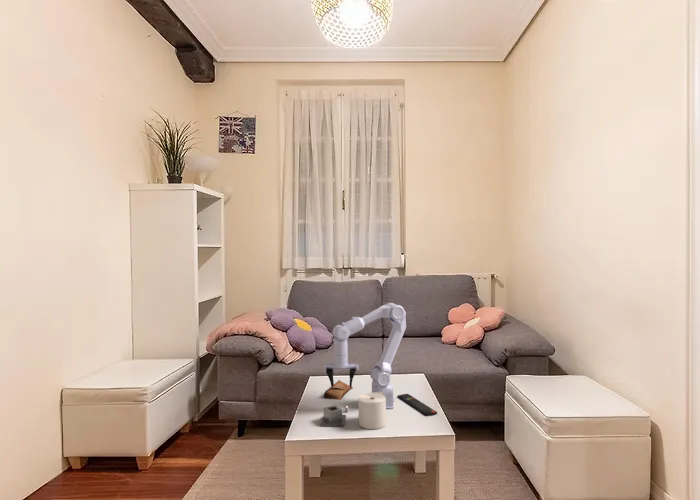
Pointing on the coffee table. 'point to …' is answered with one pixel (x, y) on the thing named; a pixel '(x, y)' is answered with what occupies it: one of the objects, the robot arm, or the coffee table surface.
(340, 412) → the grey stepped block
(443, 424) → the coffee table surface
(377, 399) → the toilet tissue
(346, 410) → the stand rod
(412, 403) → the remote control
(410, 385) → the coffee table surface
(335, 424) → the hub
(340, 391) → the sunglasses case
